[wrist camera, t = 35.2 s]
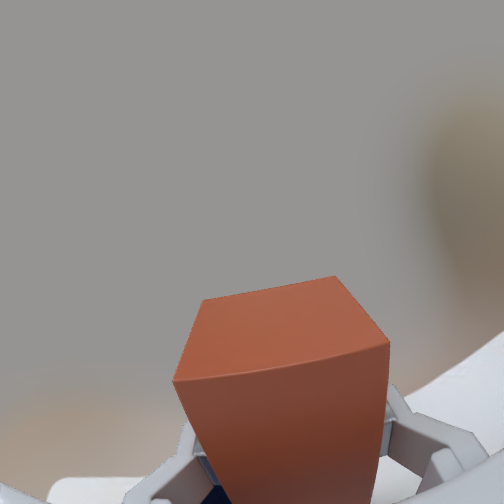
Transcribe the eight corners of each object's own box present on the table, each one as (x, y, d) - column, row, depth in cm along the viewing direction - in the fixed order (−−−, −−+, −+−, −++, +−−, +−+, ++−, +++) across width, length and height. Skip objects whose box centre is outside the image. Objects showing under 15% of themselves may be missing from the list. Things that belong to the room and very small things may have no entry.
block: (362, 534, 7) (391, 341, 5) (262, 551, 7) (170, 381, 5) (344, 469, 11) (335, 274, 9) (260, 484, 11) (202, 299, 9)
